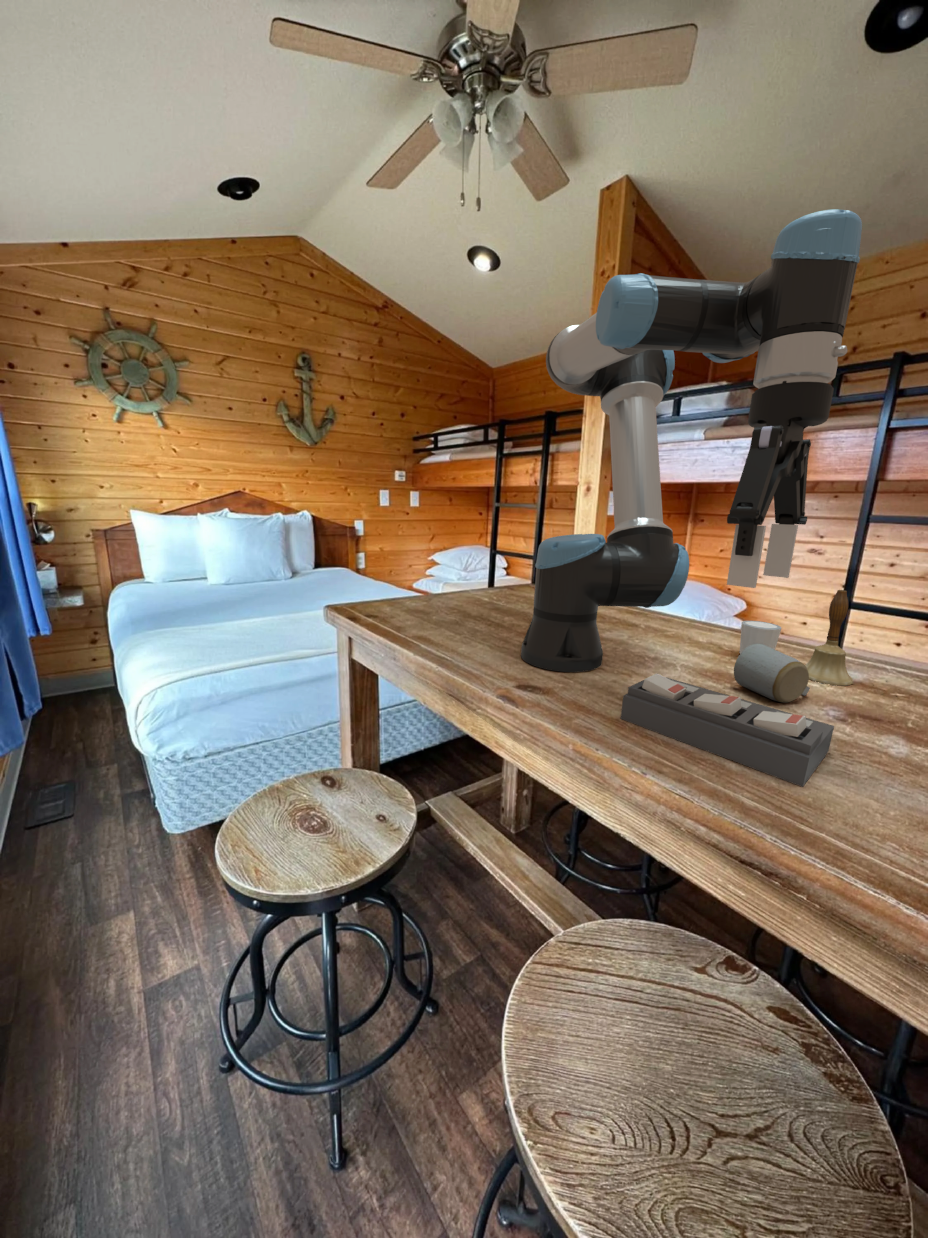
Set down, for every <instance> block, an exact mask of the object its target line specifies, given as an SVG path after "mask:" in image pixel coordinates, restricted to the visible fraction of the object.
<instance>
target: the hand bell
mask: <svg viewBox="0 0 928 1238" xmlns="http://www.w3.org/2000/svg"><path fill="white" fill-rule="evenodd" d="M847 592H848V591H847V590H843V589H838V590H836V593H835V595H834V596H833V598H832V600H831V601H830V604H829V609H828V620H829V628H828V632H827V635H826V642H825V643H824V644H819V645H817V646H815V648H814V651H813V653H812V655H811V658H810V659H809V660H808V662H807V663H806V664H804V665H805V666H806V667H807V669H808V673H809V681H811V680H812V682H815V681H816V683H818V682H819V684H823V683H825V684H824V685H828V684H830V685H829V686H836V685H837V686H839V687H840V686H841V687H847V686H851V685H853V684H854V680H853V678H852V676H851V675H850V673H848V671H847V667H846V657H847V656H846V654H847V652H846V650H844V648H843V649H842V648H841V647H840V646H839V637H840V632H841V626H842V625H843V622H844V621H845V618H846V617H847V614H848V610H849V599H848V594H847Z"/></svg>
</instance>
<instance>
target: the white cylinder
mask: <svg viewBox="0 0 928 1238" xmlns="http://www.w3.org/2000/svg"><path fill="white" fill-rule="evenodd" d="M740 626H741V627H740V639H739V642H740V643H739V653H741V652H742V651H743V650H744V649H745V648H747V647H748V646H750V645H752V644H763V645H766V646H768V647H770V648H772V649H774V650H776V647H777V644H778V641H779V637H780V635H781V631H782V626H780V625H778V624H775V623H773V622H766V621H761V620H742V621H741V625H740Z"/></svg>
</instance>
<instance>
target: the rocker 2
mask: <svg viewBox="0 0 928 1238" xmlns="http://www.w3.org/2000/svg"><path fill="white" fill-rule="evenodd" d="M806 718H807V717H806V715H801V714H794V713H791V714H786V713H777V712H768V711H763V712H761V713H760V714H759V715H758V716H757V717H755V718H754V719H753V720H754V726H757V727H760V728H764V729H767V730H770V731H773V732H776V733H779V734H782V735H788V736H795V737H798V736H799V735H800V734H801V733H802V732H803V730H804V729H805V728H806Z"/></svg>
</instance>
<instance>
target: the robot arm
mask: <svg viewBox="0 0 928 1238" xmlns="http://www.w3.org/2000/svg"><path fill="white" fill-rule="evenodd" d="M862 229H863V222H862V219H861V217H860V216H859V215H858V214H857V213H855V212H854V211H852V210H848V209H838V208H836V209H835V208H834V209H833V208H832V209H824V210H818V211H815V212H812V213H808V214H805V215H802V216H801V217H799V218H797V219H794V220H793V221H791V222H789V223H788V224H787V225H785V227H783V228H782V229H781V230H780V232H779V234H778V235H777V237H776V240H775V243H774V247H773V250H772V253H771V256H770V260H771V263H770V264H771V266H770V267H769V268H767V269H766V270H764V271H763V272H762V273H760V274H758V275H757V276H756V277H753V278H752V279H751V280H749V281H746V282H740V281H739V282H737V281H728V280H727V281H724V280H711V279H696V278H694V279H693V278H685V277H684V278H683V277H671V276H661V275H660V276H659V275H649V274H645V273H641V272H640V273H635V274H617V275H613V276H612V277H610V279H609V280H608V281H607V282H606V283H605V286H604V289H603V291H602V292H601V295H600V296H599V297H600V298H599V300H598V306H597V309H596V312H595V313H594V314H592V315H591V316H590V317H588V318H587V319H586V320H584V321H583V322H582V323H580V324H574V325H570V326H568V327H565V328H563V329H562V330H561V331H560V332H558V333H557V334H556V335H555V336H554V337H553V339H551V341H550V343H549V345H548V347H547V350H546V354H545V355H546V356H545V365H546V370H547V372H548V375H549V377H550V379H551V380H552V381H553V382H554V383H555V385H556V386H558V387H560V388H561V389H563V390H564V391H566V392H568V393H571V394H575V395H578V396H587V397H599V398H600V409H601V410H602V412H603V413H604V414H605V415H607V416H608V418H609V419H608V420H609V435H610V436H609V437H610V455H611V456H610V458H611V479H612V482H611V483H612V496H613V497H612V499H613V522H614V529H612V530H611V531H610V532H609V533H608V535H607V537H606V538H605V536H604V535H603V534H601V533H584V534H583V533H579V534H578V533H577V534H565V535H557V536H553V537H548V538H545V539H544V540H542V541H541V542H540V544H539V545H538V549H537V554H536V560H535V561H536V562H535V565H534V567H535V568H536V569H535V579H534V580H535V581H534V598H533V610H532V611H533V612H532V619H531V621H530V623H529V626H528V628H527V630H526V633H525V636H524V639H523V642H522V644H521V650H520V651H521V652H520V657H521V659H522V660H523V661H524V662H525V663H527V664H529V665H531V666H534V667H536V668H540V669H544V670H548V671H554V672H563V673H582V672H588V671H593V670H596V669H599V668H600V667H601V666H602V665H603V656H604V651H603V647H602V643H601V637H600V634H599V630H598V624H597V620H598V611H599V607H632V608H633V607H639V608H640V607H643V608H645V609H648V608H649V609H650V608H654V607H666V606H669V605H671V604H673V603H674V602H675V601H677V599H678V598H679V597H680V596H681V594H682V592H683V590H684V588H685V586H686V583H687V581H688V576H689V571H690V555H689V551H688V550H687V549H686V547H685V546H684V545H682V544H679V543H678V542H674V534H673V533H674V532H673V529H672V528H671V527H670V526H668V525H667V524H665V523H664V516H663V500H662V498H663V497H662V489H661V488H662V486H661V484H662V483H661V471H660V455H659V454H660V453H659V452H660V451H659V439H658V422H657V420H658V419H657V409H656V408H657V407H658V405H659V404H661V402H662V401H663V399H664V396H665V395H666V394H667V392H668V391H669V389H670V388H671V385H672V382H673V379H674V375H673V371H674V370H675V366H676V365H675V364H676V363H675V362H676V360H675V359H676V357H675V352H674V351H676V352H686V353H700V354H701V353H702V355H703V356H705V357H706V358H707V359H709V360H711V361H712V362H714V363H718V364H725V363H730V362H733V361H738V360H742V359H744V358H748V357H749V356H750V355H753V354H755V352H757V357H756V364H755V369H754V376H753V377H754V378H753V384H752V385H753V386H754V387H755V388H757V389H756V390H754V392H753V393H752V394H751V398H750V399H751V400H750V405H749V412H748V419H747V424H748V426H750V427H752V428H753V431H752V433H751V434H752V436H751V440H750V445H749V446H750V447H749V451H748V453H747V457H746V459H745V463H744V466H743V469H742V472H741V475H740V478H739V482H738V485H737V488H736V491H735V495H734V498H733V500H732V503H731V507H730V509H729V513H728V514H727V517H726V523H727V524H729V525H730V524H732V525H735V527H734V528H735V529H734V535H733V540H732V547H731V554H730V561H729V567H728V573H727V580H726V585H727V586H735V587H741V588H750V589H756V588H757V583H758V577H759V571H760V567H761V566H760V565H761V559H762V553H763V548H764V547H763V546H764V541H765V536H766V528H767V526H766V525H763V523H764V521H765V519H766V515H767V514H768V512H769V509H770V506H771V504H772V501H773V505H774V508H773V509H774V522H775V523H771V527H770V533H769V538H768V544H767V550H766V555H765V563H764V568H763V574H762V575H763V576H765V577H766V576H767V577H775V578H776V577H777V578H784V579H785V578H786V579H788V578H789V577H790V573H791V566H792V563H793V562H792V560H793V556H794V552H795V551H794V550H795V544H796V539H797V533H798V529H799V525H802V526H803V525H806V524H807V521H808V516H806V512H805V510H806V497H807V496H806V495H807V481H808V480H807V479H808V468H809V467H808V466H809V464H808V463H809V456H810V449H811V446H812V442H811V439H809V438H808V439H804V430H805V429H807V428H808V427H818V426H820V425H823V424H824V423H826V422H827V421H828V419H829V417H830V411H831V406H832V402H833V395H834V391H835V388H834V387H833V386H832V384H830V383H831V382H832V381H833V380H834V379H835V378H836V375H837V369H838V367H839V366H838V365H839V361H838V358H839V357H844V356H845V355H846V354H847V353H848V346H847V345H842V343H843V337H844V334H845V329H846V323H847V319H848V316H849V315H848V314H849V309H850V303H851V299H852V294H853V288H854V283H855V278H856V274H857V273H856V272H857V268H858V265H859V263H860V260H861V257H860V249H861V248H860V247H861V239H862V231H863V230H862Z"/></svg>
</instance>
